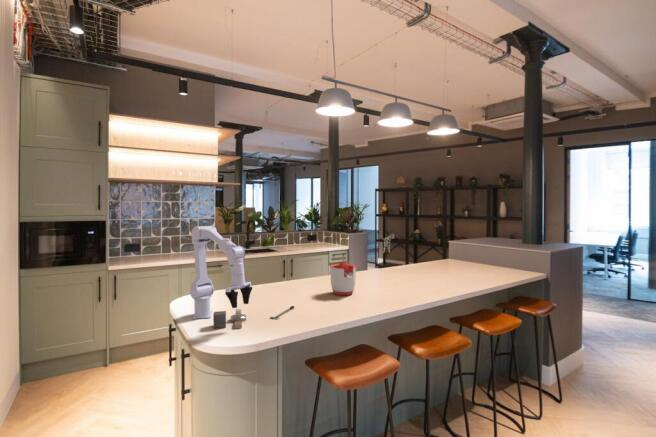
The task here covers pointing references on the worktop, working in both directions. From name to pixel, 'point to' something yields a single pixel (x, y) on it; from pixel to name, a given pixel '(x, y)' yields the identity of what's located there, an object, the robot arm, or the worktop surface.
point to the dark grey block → (219, 319)
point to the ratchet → (238, 319)
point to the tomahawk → (282, 313)
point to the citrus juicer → (343, 278)
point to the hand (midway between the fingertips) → (240, 305)
